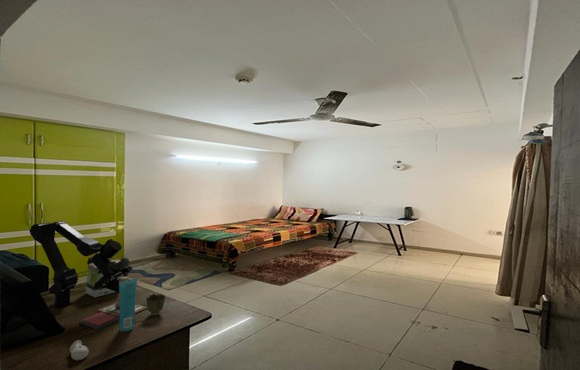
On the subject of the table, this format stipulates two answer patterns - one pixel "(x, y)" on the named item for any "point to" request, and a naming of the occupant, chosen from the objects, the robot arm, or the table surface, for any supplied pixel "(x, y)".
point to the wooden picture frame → (116, 312)
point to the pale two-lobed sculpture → (78, 350)
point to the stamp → (117, 305)
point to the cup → (155, 304)
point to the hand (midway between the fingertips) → (126, 291)
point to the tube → (127, 303)
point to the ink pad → (99, 320)
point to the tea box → (93, 278)
